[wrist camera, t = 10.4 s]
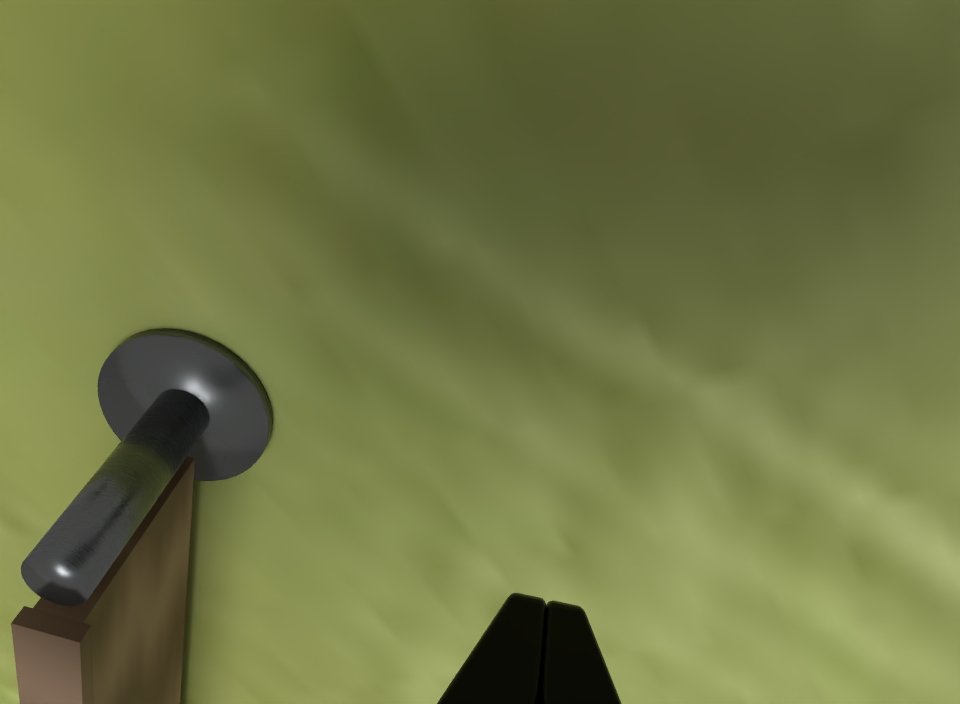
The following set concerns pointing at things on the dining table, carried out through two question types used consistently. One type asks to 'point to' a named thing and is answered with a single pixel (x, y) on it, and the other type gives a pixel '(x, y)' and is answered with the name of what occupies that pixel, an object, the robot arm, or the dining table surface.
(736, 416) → the dining table surface
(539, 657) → the robot arm
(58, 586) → the hinge pin
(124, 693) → the brown wooden plank
